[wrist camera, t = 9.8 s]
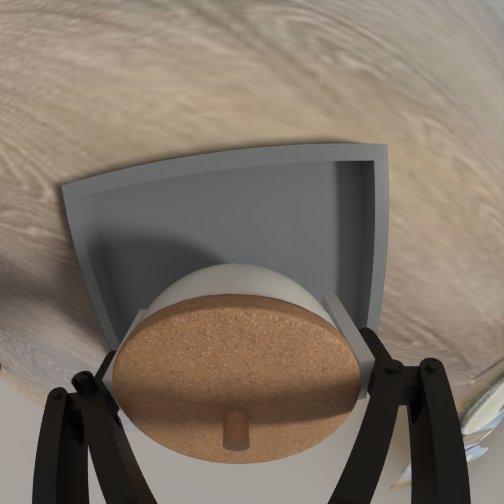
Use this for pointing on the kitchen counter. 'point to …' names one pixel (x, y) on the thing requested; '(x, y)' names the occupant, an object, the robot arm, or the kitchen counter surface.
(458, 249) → the kitchen counter surface
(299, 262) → the tray
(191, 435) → the lidded jar
